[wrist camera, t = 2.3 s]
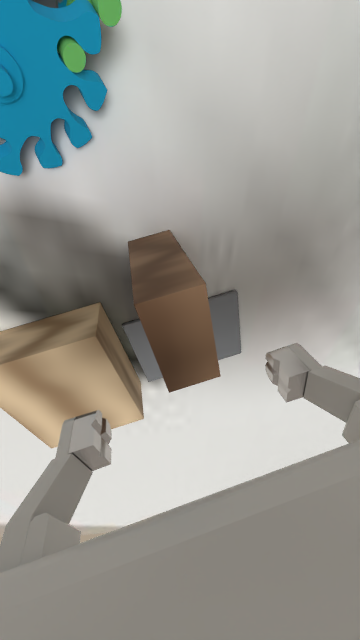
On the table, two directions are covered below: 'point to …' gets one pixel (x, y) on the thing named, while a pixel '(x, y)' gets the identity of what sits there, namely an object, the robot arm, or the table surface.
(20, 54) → the blue lobed piece
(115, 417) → the oak step
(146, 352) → the felt pad
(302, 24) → the table surface
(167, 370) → the walnut slab
